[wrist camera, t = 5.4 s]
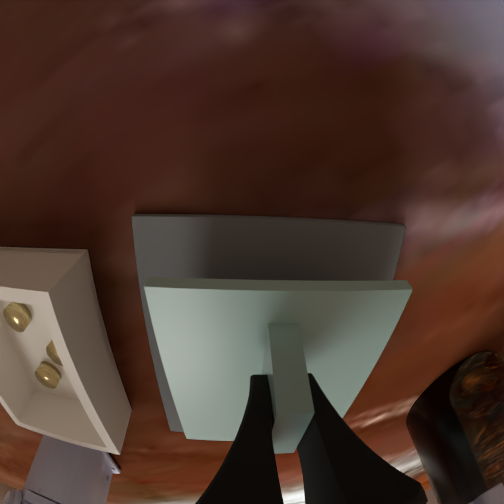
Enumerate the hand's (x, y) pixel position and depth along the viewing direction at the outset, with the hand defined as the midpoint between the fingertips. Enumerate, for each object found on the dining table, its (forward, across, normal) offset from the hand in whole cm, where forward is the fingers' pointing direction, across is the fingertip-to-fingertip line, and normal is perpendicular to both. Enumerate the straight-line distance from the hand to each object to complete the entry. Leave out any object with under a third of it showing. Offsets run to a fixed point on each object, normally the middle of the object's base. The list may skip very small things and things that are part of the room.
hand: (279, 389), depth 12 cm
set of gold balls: (+6, +15, +4) cm, 16 cm away
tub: (+6, +15, +4) cm, 16 cm away
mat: (+6, 0, +4) cm, 7 cm away
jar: (+6, -20, +12) cm, 24 cm away
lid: (+4, 0, +3) cm, 4 cm away
